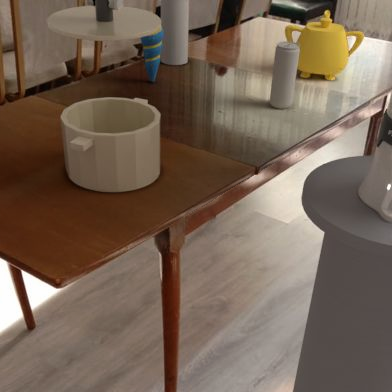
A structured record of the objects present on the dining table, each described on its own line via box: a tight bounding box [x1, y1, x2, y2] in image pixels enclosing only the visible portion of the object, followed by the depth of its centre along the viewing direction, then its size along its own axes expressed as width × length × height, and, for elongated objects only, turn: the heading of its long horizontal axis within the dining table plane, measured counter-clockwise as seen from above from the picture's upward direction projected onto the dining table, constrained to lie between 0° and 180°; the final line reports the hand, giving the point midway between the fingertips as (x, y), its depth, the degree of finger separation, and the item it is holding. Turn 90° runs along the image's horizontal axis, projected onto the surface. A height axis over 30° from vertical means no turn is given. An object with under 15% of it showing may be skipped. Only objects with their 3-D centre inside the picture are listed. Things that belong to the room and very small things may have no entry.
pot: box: [59, 96, 162, 193], centre depth 104 cm, size 16×21×9 cm
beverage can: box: [269, 40, 300, 110], centre depth 128 cm, size 5×5×12 cm
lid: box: [46, 0, 161, 42], centre depth 92 cm, size 17×17×6 cm
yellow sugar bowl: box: [284, 9, 365, 81], centre depth 145 cm, size 14×14×12 cm
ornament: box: [140, 7, 164, 83], centre depth 135 cm, size 5×5×15 cm
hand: (103, 7), depth 92 cm, fingers closed on lid, 2 cm apart
